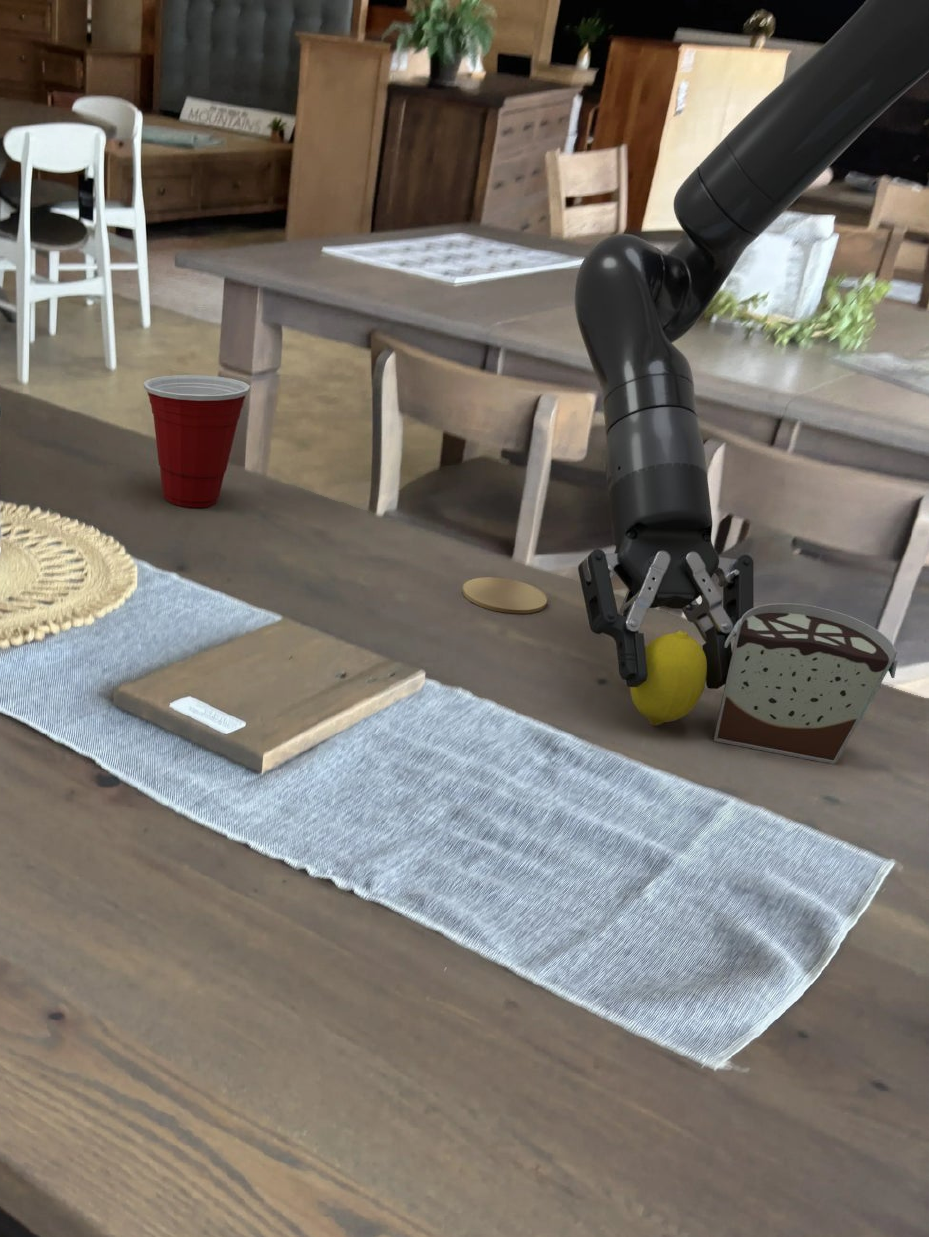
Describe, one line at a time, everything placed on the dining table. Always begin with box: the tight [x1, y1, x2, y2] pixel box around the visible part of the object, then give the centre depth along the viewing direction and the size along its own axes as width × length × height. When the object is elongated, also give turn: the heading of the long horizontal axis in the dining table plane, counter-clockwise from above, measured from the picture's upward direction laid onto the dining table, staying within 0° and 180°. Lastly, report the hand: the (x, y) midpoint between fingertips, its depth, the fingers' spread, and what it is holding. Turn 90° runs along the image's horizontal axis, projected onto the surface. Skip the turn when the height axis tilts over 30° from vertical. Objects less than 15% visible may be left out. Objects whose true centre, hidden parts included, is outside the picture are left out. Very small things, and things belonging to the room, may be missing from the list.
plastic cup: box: [142, 374, 251, 509], centre depth 139 cm, size 11×11×12 cm
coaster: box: [461, 576, 548, 615], centre depth 127 cm, size 8×8×1 cm
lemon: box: [630, 630, 707, 727], centre depth 105 cm, size 6×6×8 cm
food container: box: [713, 602, 898, 765], centre depth 104 cm, size 12×6×10 cm, turn 76°
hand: (678, 684), depth 103 cm, fingers open, 6 cm apart
